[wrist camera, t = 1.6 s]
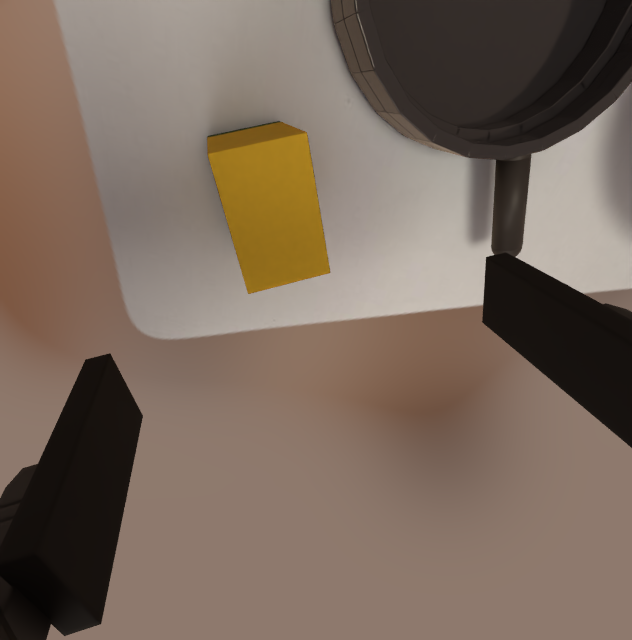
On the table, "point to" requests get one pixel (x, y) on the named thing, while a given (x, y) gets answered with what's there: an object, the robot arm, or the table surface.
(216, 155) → the sponge
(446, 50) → the pan
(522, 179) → the pan handle
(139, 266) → the table surface
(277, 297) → the table surface
